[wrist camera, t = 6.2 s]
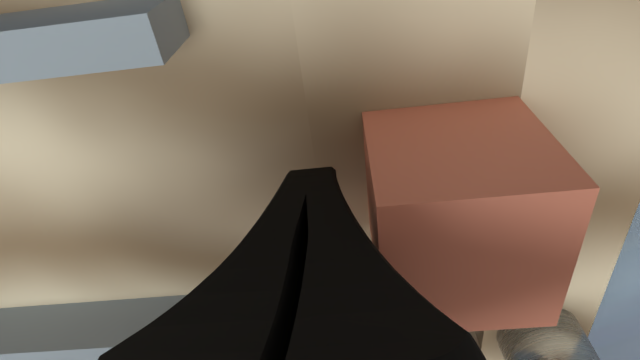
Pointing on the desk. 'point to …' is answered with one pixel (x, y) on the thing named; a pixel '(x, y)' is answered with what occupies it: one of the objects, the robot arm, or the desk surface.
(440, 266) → the coral cube
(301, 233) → the robot arm
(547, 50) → the birch board
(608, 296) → the desk surface
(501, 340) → the grey metal peg
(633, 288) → the desk surface
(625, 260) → the desk surface
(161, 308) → the grey rectangular frame
